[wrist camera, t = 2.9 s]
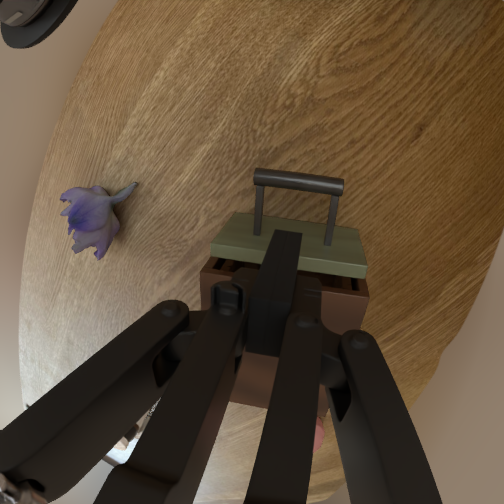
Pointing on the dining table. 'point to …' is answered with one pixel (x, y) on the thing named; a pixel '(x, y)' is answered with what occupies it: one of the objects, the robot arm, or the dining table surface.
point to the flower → (93, 217)
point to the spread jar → (133, 433)
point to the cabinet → (264, 367)
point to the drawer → (314, 234)
